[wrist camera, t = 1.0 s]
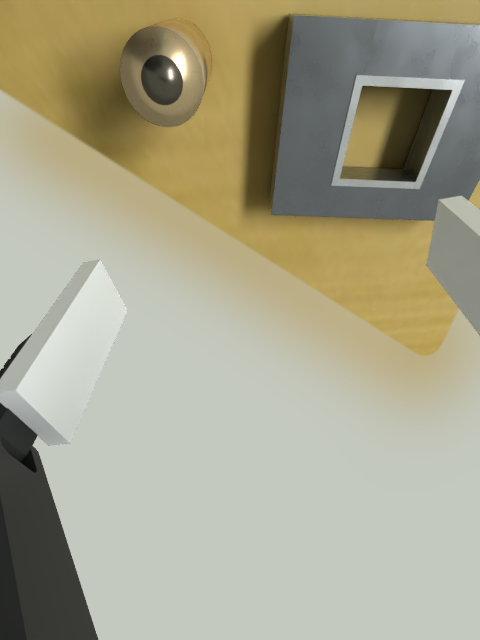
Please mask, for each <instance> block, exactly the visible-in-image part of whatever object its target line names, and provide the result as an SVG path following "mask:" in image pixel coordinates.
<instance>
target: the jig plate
mask: <svg viewBox="0 0 480 640" xmlns="http://www.w3.org/2000/svg"><path fill="white" fill-rule="evenodd" d="M362 86H382V87H402V88H423V89H432V92H431V95H430V98H429V100H428V103H427V106H426V109H425V111H424V114H423V117H422V119H421V122H420V125H419V128H418V130H417V133H416V136H415V138H414V141H413V144H412V147H411V149H410V152H409V155H408V157H407V160H406V163H405V166H404V168H403V169H388V168H364V167H343V163H344V159H345V155H346V151H347V146H348V142H349V138H350V134H351V130H352V126H353V122H354V118H355V114H356V110H357V106H358V101H359V97H360V93H361V89H362ZM479 180H480V24H468V23H450V22H432V21H414V20H396V19H378V18H360V17H342V16H324V15H305V14H289V18H288V28H287V37H286V47H285V56H284V66H283V75H282V85H281V94H280V104H279V113H278V123H277V132H276V142H275V151H274V161H273V171H272V180H271V190H270V199H269V202H270V209H271V215H293V216H320V217H348V218H376V219H404V220H431V221H435V216H436V211H437V205H438V200H439V199H445V198H451V197H456V196H463V197H464V198H466V199H467V200H469V198H470V196H471V195H472V193H473V191H474V189H475V187H476V185H477V183H478V181H479Z"/></svg>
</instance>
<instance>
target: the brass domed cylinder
mask: <svg viewBox="0 0 480 640" xmlns="http://www.w3.org/2000/svg"><path fill="white" fill-rule="evenodd" d="M211 69H212V55H211V50H210V47H209V44H208V42H207V40H206V38H205V36H204V35H203V33H202V32H201V31H200V29H199V28H197V27H196V26H195V25H194V24H192V23H191V22H189V21H187V20H183V19H171V20H168V21H165V22H161V23H158V24H155V25H152V26H149V27H146V28H144V29H141V30H139V31H138V32H136V33H135V34H134V35H133V36H132V37H131V38H130V39H129V40H128V42H127V43H126V45H125V47H124V50H123V52H122V56H121V61H120V76H121V82H122V86H123V89H124V92H125V94H126V96H127V98H128V100H129V102H130V104H131V105H132V106H133V108H134V109H135V110H136V111H137V112H138V113H139V114H140V115H141V116H142V117H143V118H144V119H146V120H147V121H149V122H151V123H153V124H155V125H159V126H163V127H174V126H178V125H181V124H183V123H185V122H186V121H188V120H189V119H190V118H191V117H192V116H193V115H194V114H195V112H196V111H197V109H198V107H199V105H200V103H201V100H202V97H203V94H204V92H205V89H206V86H207V83H208V80H209V77H210V74H211Z"/></svg>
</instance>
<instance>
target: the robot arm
mask: <svg viewBox="0 0 480 640" xmlns="http://www.w3.org/2000/svg"><path fill="white" fill-rule="evenodd" d="M426 265H427V267H428V268H429V269H430V271H431V272H432V273H433V275H434V276H435V277H436V279H437V280H438V281H439V283H440V284H441V285H442V286H443V288H444V289H445V290H446V292H447V293H448V294H449V296H450V297H451V298H452V300H453V301H454V302H455V304H456V305H457V306H458V308H459V309H460V310H461V311H462V313H463V314H464V315H465V317H466V318H467V319H468V321H469V322H470V323H471V325H472V326H473V327H474V329H475V330H476V331H477V332H478V334H479V335H480V209H478V208H477V207H476V206H475V205H473V204H472V203H471V202H469V201H468V200H467V199H466V198H464V197H463V196H456V197H451V198H445V199H439V200H438V205H437V211H436V216H435V222H434V227H433V232H432V238H431V243H430V248H429V254H428V259H427V264H426ZM126 313H127V309H126V307H125V305H124V303H123V301H122V299H121V297H120V296H119V294H118V292H117V290H116V288H115V286H114V285H113V283H112V281H111V279H110V277H109V275H108V273H107V272H106V270H105V268H104V266H103V264H102V262H101V260H95V261H90V262H84V263H83V264H82V265H81V266H80V268H79V269H78V271H77V272H76V273H75V275H74V276H73V278H72V279H71V281H70V282H69V283H68V285H67V286H66V287H65V289H64V290H63V292H62V293H61V294H60V296H59V297H58V299H57V300H56V301H55V303H54V304H53V306H52V307H51V308H50V310H49V311H48V313H47V314H46V315H45V317H44V318H43V320H42V321H41V322H40V324H39V325H38V327H37V328H36V329H35V331H34V332H33V334H31V335H30V336H29V337H28V338H27V339H25V340H24V341H23V342H22V343H21V344H20V345H19V346H18V347H17V348H16V350H15V351H14V353H13V354H12V355H11V359H8V361H7V362H6V364H5V365H4V368H3V369H1V370H0V640H98V637H97V634H96V631H95V628H94V625H93V622H92V619H91V615H90V613H89V609H88V606H87V603H86V600H85V597H84V594H83V590H82V588H81V584H80V581H79V578H78V575H77V572H76V569H75V565H74V562H73V559H72V556H71V553H70V550H69V547H68V544H67V540H66V537H65V534H64V531H63V528H62V525H61V521H60V518H59V515H58V512H57V509H56V506H55V503H54V500H53V496H52V493H51V490H50V487H49V484H48V481H47V478H46V474H45V471H44V468H43V465H42V462H41V459H40V456H39V453H38V451H37V450H36V448H34V447H33V446H32V445H33V443H34V441H35V439H36V437H37V436H38V437H39V438H40V439H41V440H43V441H44V442H45V443H46V444H47V445H48V446H49V445H60V444H69V443H71V440H72V438H73V435H74V433H75V431H76V429H77V426H78V424H79V422H80V419H81V417H82V415H83V413H84V410H85V408H86V406H87V403H88V401H89V399H90V396H91V394H92V392H93V389H94V387H95V385H96V382H97V380H98V378H99V375H100V373H101V371H102V368H103V366H104V364H105V361H106V359H107V357H108V355H109V352H110V350H111V348H112V345H113V343H114V341H115V338H116V336H117V334H118V331H119V329H120V327H121V325H122V322H123V320H124V318H125V315H126Z"/></svg>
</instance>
